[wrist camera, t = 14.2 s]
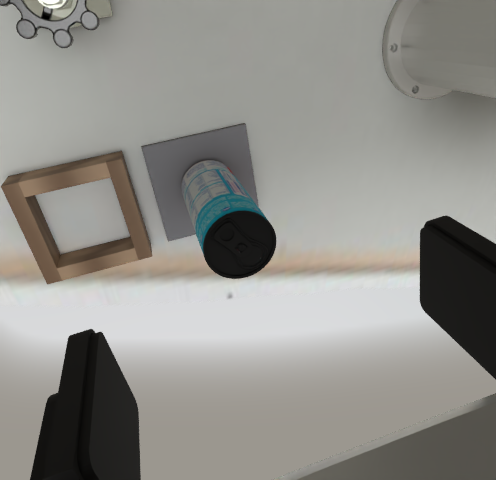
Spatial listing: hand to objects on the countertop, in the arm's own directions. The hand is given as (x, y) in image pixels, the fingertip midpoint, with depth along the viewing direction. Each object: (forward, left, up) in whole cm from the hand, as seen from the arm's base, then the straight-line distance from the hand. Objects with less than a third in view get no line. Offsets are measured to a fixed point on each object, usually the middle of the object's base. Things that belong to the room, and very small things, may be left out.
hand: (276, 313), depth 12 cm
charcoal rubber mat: (-2, +9, -35) cm, 36 cm away
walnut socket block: (+11, +9, -35) cm, 37 cm away
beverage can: (-2, +9, -35) cm, 36 cm away
